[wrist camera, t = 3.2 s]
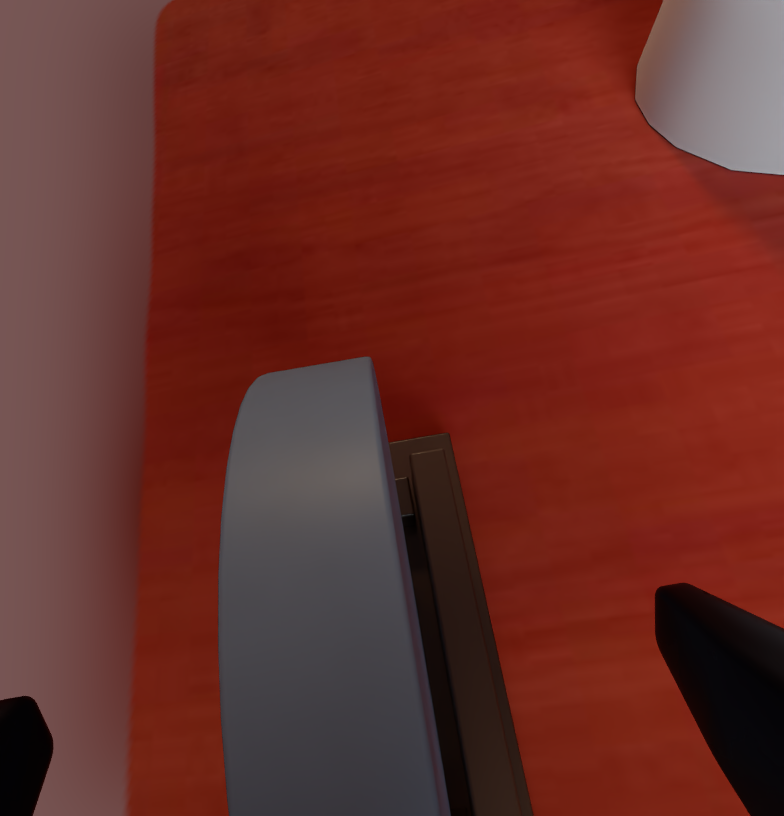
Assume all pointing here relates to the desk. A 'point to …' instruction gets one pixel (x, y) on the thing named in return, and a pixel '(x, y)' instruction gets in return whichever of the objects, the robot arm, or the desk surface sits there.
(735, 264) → the desk surface
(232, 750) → the disc
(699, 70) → the teardrop
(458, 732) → the rack
